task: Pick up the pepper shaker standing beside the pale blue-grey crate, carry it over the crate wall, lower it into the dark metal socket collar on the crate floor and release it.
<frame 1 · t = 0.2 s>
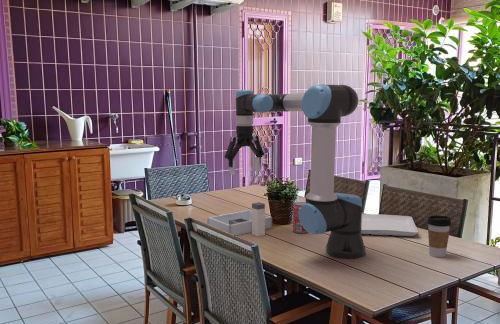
hand: (245, 173, 217), 27 cm above the table, fingers open, 13 cm apart
pepper shaker: (258, 234, 215), on the table
crate: (239, 227, 226), on the table
square plate: (383, 230, 223), on the table
soda can: (300, 232, 219), on the table
coffee cup: (437, 255, 187), on the table
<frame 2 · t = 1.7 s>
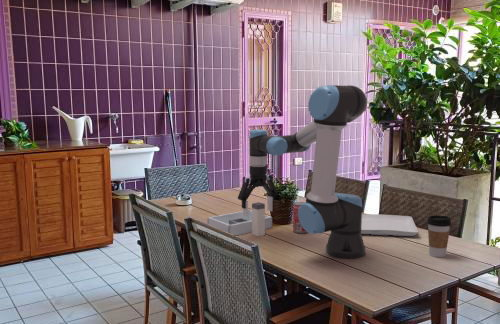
hand: (257, 213, 214), 10 cm above the table, fingers open, 13 cm apart
nothing on the table moved.
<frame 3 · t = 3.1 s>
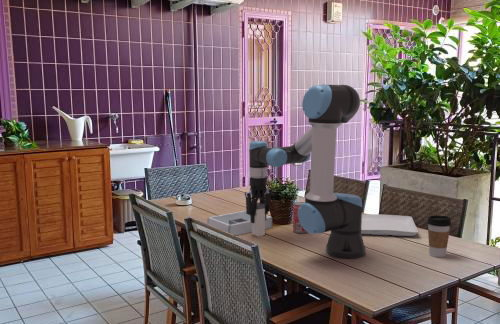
hand: (258, 228, 215), 3 cm above the table, fingers closed on pepper shaker, 4 cm apart
pepper shaker: (258, 234, 215), on the table, touching gripper
everything else where it was.
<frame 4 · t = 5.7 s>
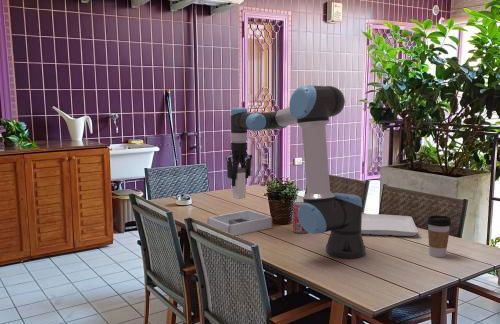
hand: (239, 192, 224), 17 cm above the table, fingers closed on pepper shaker, 4 cm apart
pepper shaker: (239, 197, 224), point 14 cm above the table, touching gripper
everything else where it was.
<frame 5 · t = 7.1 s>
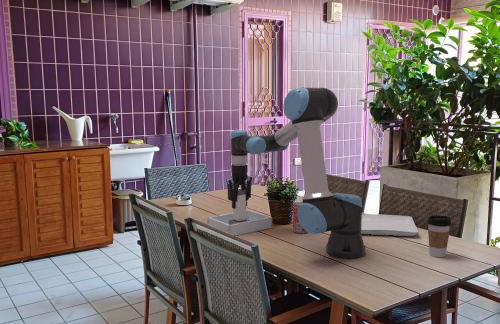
hand: (239, 214, 225), 6 cm above the table, fingers closed on pepper shaker, 4 cm apart
pepper shaker: (239, 219, 226), point 4 cm above the table, touching gripper
everything else where it was.
when the fingers open (5 cm above the table, at t = 8.4 s): pepper shaker drops 1 cm, resting on crate.
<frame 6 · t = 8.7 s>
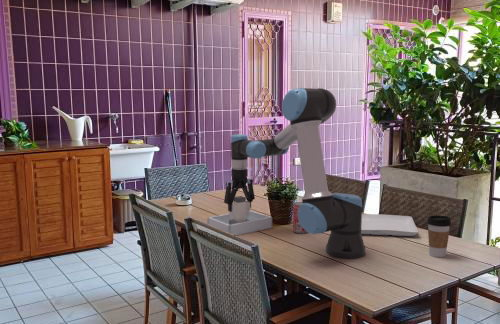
hand: (239, 216, 225), 5 cm above the table, fingers open, 8 cm apart
pepper shaker: (239, 226, 226), resting on crate
everything else where it was.
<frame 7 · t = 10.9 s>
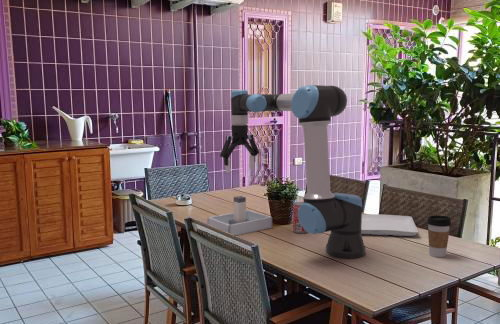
hand: (240, 171, 222), 27 cm above the table, fingers open, 13 cm apart
nothing on the table moved.
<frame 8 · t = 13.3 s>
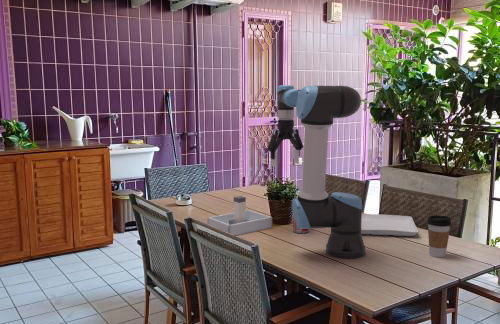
hand: (285, 164, 227), 29 cm above the table, fingers open, 13 cm apart
nothing on the table moved.
at the end: pepper shaker 0.0 cm off-centre on the crate, point 0.5 cm above the crate's base; pepper shaker tilted 0°; the gripper is holding nothing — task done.
